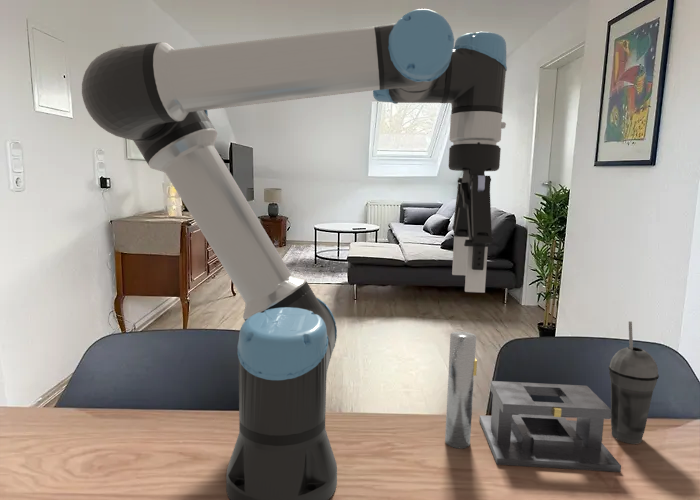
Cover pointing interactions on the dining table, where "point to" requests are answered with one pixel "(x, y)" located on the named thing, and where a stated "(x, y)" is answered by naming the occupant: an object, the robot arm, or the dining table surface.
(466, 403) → the silver metal cylinder
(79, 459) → the dining table surface
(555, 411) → the grey holder stand
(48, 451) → the dining table surface
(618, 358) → the beverage cup
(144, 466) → the dining table surface
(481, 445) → the dining table surface
